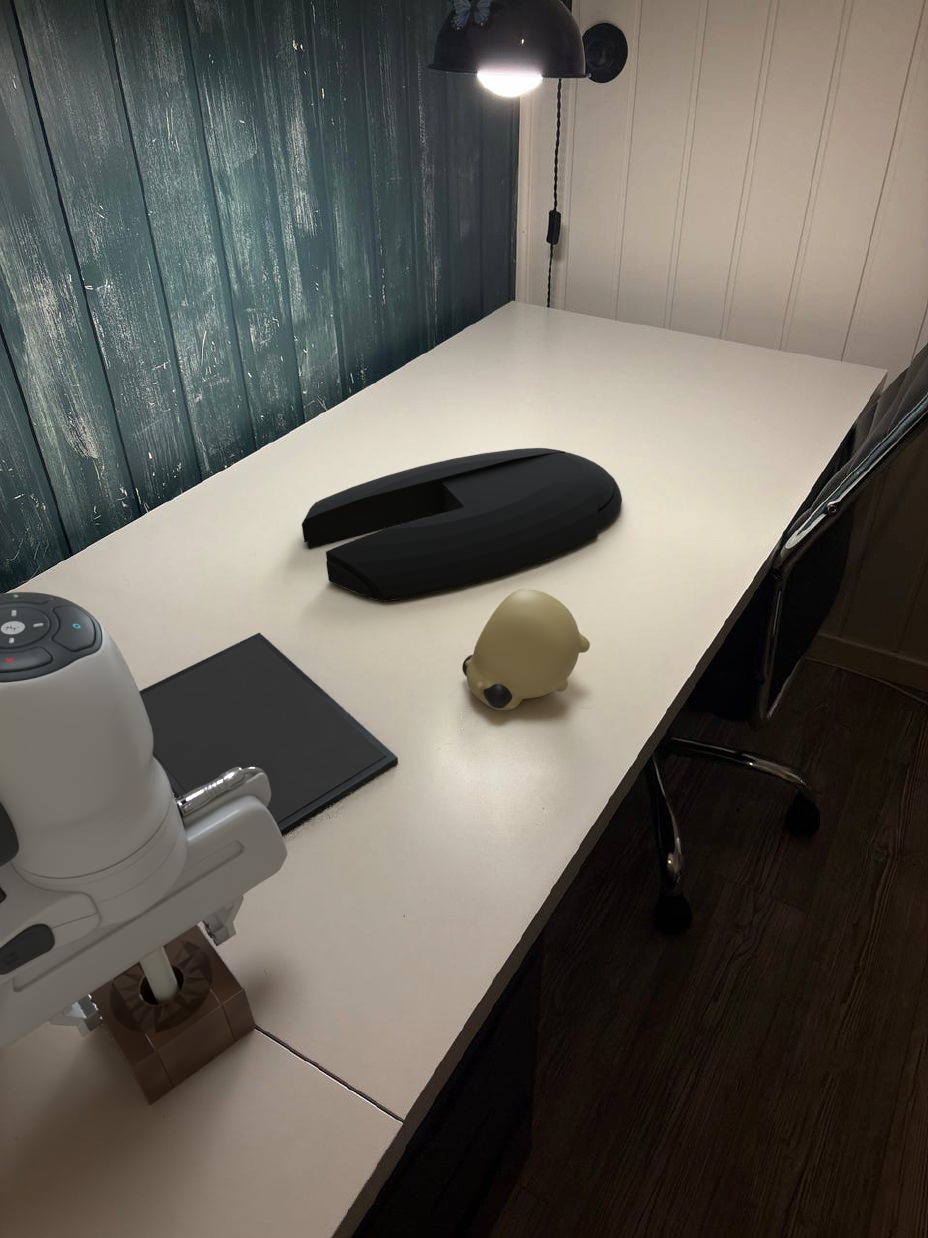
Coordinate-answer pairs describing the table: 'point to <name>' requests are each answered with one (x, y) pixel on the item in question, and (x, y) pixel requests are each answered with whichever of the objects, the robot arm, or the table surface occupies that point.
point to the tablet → (261, 731)
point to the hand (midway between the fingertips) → (158, 976)
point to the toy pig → (524, 650)
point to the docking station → (461, 521)
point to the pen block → (175, 1015)
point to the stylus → (160, 976)
